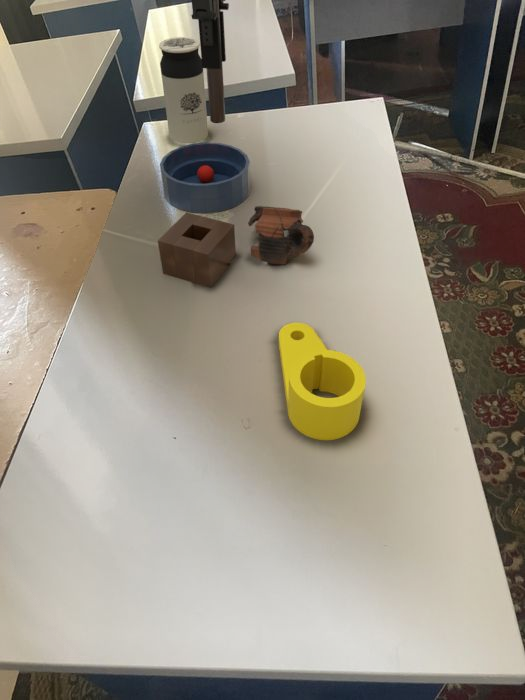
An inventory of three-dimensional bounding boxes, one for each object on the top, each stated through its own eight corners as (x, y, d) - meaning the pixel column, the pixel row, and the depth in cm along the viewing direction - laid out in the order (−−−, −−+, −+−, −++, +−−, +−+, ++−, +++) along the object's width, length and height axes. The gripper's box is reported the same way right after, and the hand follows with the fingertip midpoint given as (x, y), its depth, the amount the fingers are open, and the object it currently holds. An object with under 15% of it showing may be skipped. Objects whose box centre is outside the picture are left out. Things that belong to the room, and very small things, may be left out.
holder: (162, 274, 85) (157, 240, 81) (189, 244, 91) (186, 212, 86) (211, 288, 83) (207, 254, 79) (236, 257, 88) (234, 224, 84)
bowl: (148, 205, 99) (142, 173, 95) (191, 166, 109) (188, 136, 104) (225, 225, 94) (223, 193, 90) (263, 183, 104) (263, 151, 100)
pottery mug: (233, 258, 89) (237, 204, 87) (270, 256, 96) (275, 206, 94) (294, 269, 82) (300, 211, 79) (330, 267, 89) (336, 213, 87)
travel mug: (168, 131, 119) (156, 37, 106) (206, 128, 120) (198, 35, 107) (171, 148, 114) (158, 52, 101) (210, 145, 115) (203, 49, 102)
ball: (195, 183, 102) (193, 168, 100) (203, 176, 104) (201, 161, 102) (209, 187, 102) (208, 171, 99) (217, 179, 103) (216, 164, 101)
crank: (369, 432, 65) (377, 398, 60) (299, 446, 63) (301, 413, 59) (321, 327, 77) (325, 292, 73) (261, 337, 76) (261, 303, 71)
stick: (207, 121, 90) (197, -9, 77) (214, 115, 91) (205, -14, 79) (221, 124, 89) (212, -8, 76) (228, 118, 91) (221, -12, 78)
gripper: (216, -139, 62) (228, 85, 79) (243, -152, 72) (248, 47, 89) (150, -139, 63) (175, 82, 79) (186, -152, 73) (202, 45, 90)
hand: (214, 63), depth 84 cm, fingers closed on stick, 2 cm apart
